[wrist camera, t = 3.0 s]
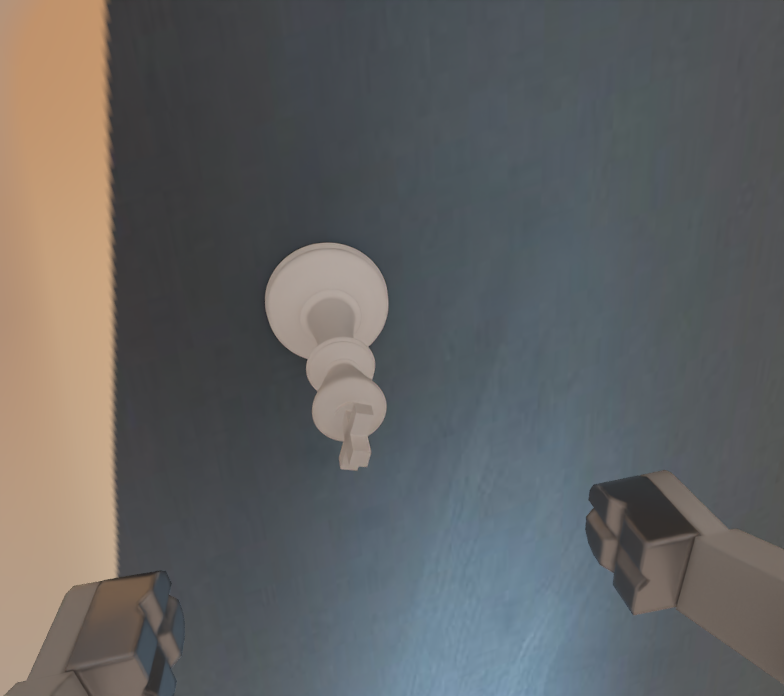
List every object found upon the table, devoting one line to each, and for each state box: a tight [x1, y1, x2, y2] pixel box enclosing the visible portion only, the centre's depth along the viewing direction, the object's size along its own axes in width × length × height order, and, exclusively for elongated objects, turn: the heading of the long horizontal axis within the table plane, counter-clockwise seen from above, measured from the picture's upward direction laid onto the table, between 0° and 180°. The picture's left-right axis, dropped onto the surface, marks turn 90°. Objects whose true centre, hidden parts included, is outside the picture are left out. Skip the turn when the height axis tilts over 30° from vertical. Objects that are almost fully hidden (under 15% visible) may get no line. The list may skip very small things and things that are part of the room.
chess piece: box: [265, 243, 388, 471], centre depth 16 cm, size 5×5×10 cm
